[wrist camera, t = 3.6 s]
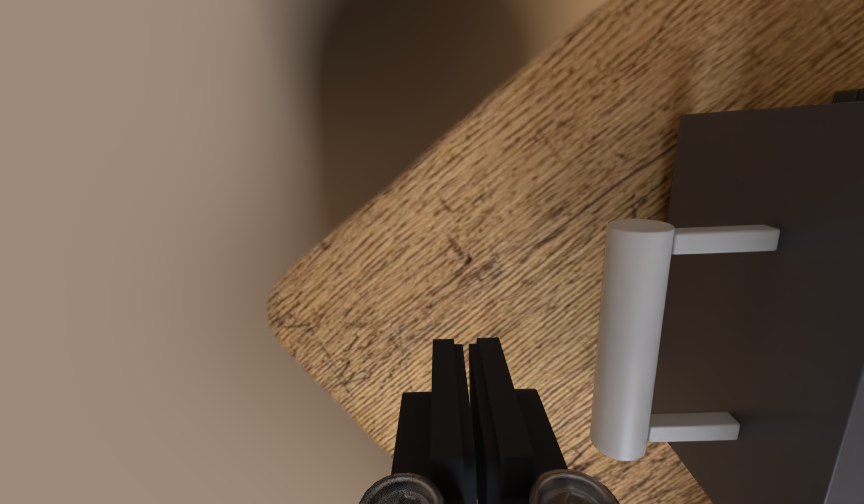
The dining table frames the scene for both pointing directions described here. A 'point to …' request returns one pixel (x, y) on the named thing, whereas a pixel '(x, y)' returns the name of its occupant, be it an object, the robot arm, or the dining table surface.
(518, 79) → the dining table surface
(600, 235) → the dining table surface
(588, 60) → the dining table surface
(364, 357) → the dining table surface
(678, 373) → the cabinet drawer
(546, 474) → the robot arm
